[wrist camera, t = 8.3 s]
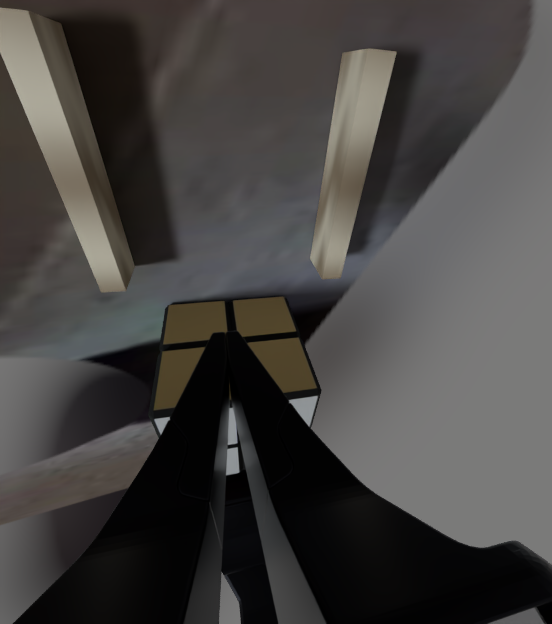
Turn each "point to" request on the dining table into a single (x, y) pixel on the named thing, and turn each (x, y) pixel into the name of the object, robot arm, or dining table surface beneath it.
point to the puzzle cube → (262, 340)
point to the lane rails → (91, 171)
